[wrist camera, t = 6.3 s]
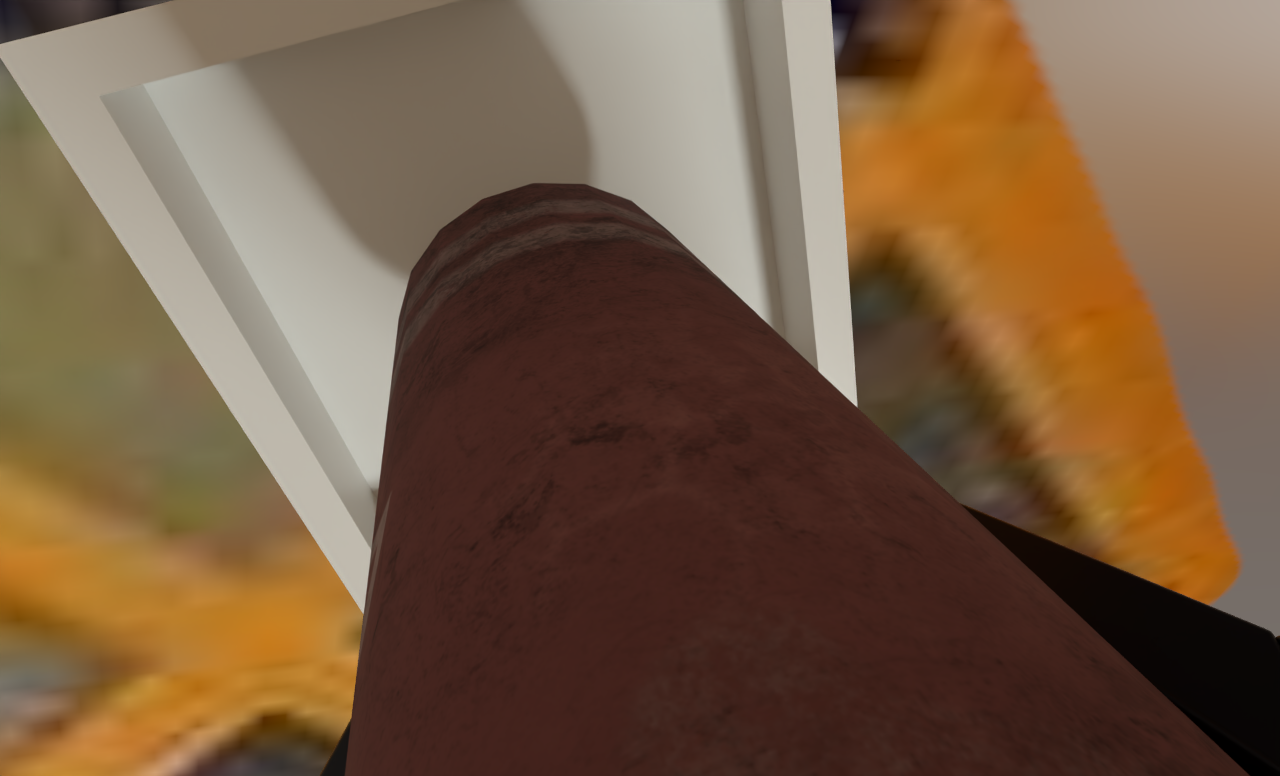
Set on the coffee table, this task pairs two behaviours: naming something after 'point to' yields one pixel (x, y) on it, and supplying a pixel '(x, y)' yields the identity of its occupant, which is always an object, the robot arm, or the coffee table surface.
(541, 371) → the can
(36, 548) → the coffee table surface
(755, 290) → the tray
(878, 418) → the coffee table surface
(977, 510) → the robot arm
